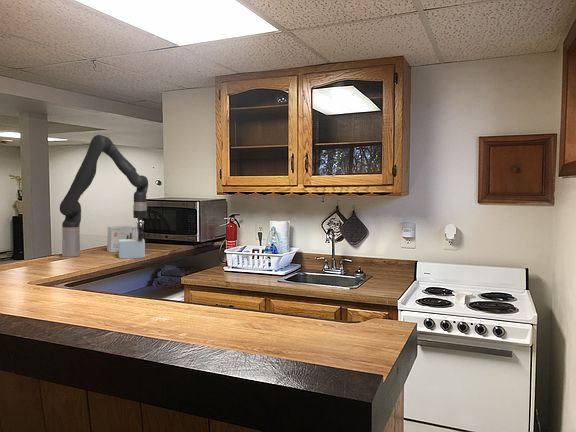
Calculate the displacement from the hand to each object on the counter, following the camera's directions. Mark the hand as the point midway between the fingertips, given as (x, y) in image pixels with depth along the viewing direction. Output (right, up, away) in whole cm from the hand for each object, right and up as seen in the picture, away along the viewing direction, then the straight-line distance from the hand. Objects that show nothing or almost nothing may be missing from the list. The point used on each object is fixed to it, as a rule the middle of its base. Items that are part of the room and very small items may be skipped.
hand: (140, 239), depth 259 cm
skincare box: (-20, -9, +28) cm, 35 cm away
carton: (-7, -11, +4) cm, 13 cm away
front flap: (-4, -11, -1) cm, 12 cm away
